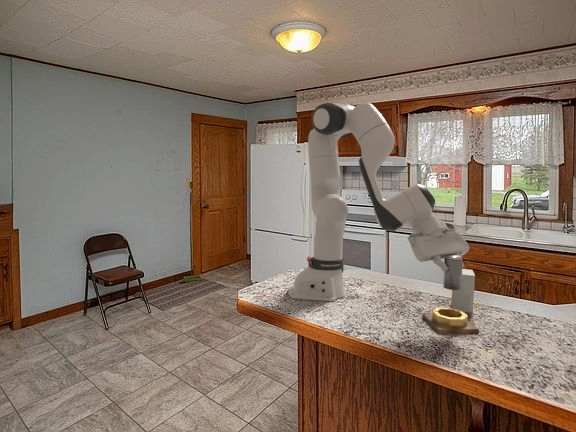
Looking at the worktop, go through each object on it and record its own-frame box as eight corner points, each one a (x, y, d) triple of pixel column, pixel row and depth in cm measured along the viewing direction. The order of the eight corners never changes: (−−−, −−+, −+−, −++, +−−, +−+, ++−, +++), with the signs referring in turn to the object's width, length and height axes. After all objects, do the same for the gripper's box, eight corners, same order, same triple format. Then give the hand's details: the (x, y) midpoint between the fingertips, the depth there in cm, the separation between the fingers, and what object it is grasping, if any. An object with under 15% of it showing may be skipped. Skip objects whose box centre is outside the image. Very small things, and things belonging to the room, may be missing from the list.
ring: (441, 327, 107) (441, 319, 107) (428, 315, 116) (428, 307, 116) (471, 327, 107) (472, 319, 107) (456, 315, 116) (457, 307, 116)
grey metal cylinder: (447, 290, 108) (449, 258, 106) (440, 285, 112) (441, 254, 111) (464, 290, 108) (466, 258, 106) (456, 284, 113) (457, 254, 111)
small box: (451, 302, 131) (453, 267, 129) (470, 305, 128) (473, 269, 127) (452, 310, 123) (454, 273, 122) (473, 313, 121) (475, 275, 119)
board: (438, 333, 106) (438, 329, 105) (422, 317, 117) (422, 313, 117) (478, 333, 106) (479, 329, 106) (458, 316, 118) (459, 313, 118)
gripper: (411, 228, 110) (435, 267, 102) (458, 224, 119) (483, 259, 111) (400, 240, 114) (423, 278, 107) (446, 235, 123) (470, 270, 115)
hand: (454, 268), depth 109 cm, fingers closed on grey metal cylinder, 5 cm apart
